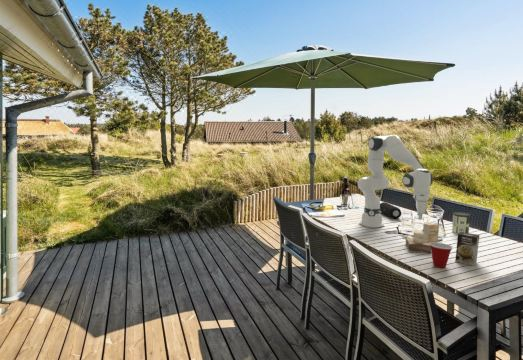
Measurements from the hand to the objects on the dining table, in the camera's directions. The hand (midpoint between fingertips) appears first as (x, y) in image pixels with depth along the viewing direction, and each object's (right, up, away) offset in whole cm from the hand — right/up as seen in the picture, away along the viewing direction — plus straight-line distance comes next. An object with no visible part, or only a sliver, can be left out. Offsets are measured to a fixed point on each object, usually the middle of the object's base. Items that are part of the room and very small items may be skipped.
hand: (419, 217), depth 184 cm
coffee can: (+46, -15, +32) cm, 58 cm away
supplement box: (+13, -18, +12) cm, 26 cm away
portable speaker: (+16, -9, +81) cm, 83 cm away
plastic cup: (-1, -24, -23) cm, 33 cm away
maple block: (0, -15, +2) cm, 15 cm away
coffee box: (+16, -23, -18) cm, 33 cm away
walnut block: (0, -20, +3) cm, 20 cm away
